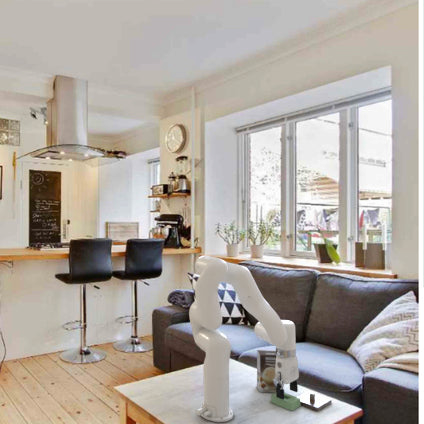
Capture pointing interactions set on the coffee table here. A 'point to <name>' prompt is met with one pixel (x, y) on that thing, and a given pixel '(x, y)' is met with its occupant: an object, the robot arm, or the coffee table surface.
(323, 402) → the wooden peg base
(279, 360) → the robot arm
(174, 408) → the coffee table surface
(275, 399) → the green block with hole
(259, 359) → the coffee box
